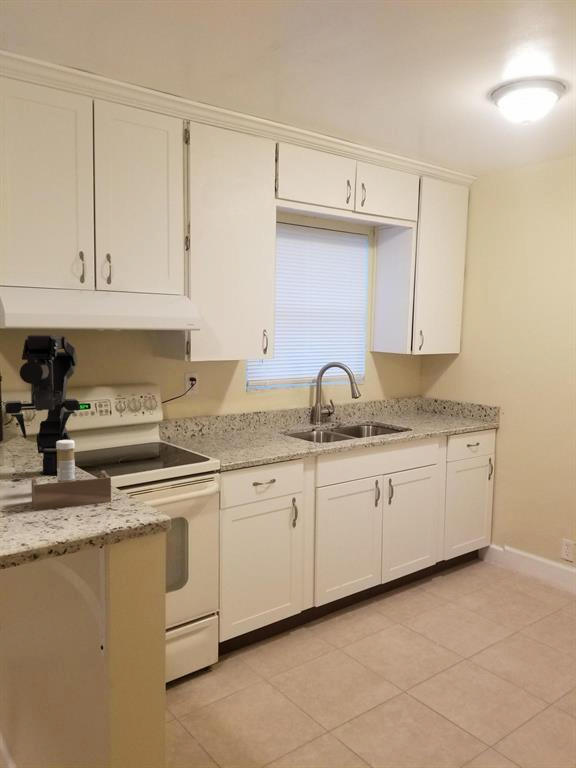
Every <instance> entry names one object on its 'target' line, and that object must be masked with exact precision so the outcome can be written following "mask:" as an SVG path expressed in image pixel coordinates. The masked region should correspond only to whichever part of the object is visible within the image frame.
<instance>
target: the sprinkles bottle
mask: <svg viewBox="0 0 576 768" xmlns="http://www.w3.org/2000/svg"><path fill="white" fill-rule="evenodd" d="M75 446H76V445H75V440H73V439H71V440H60V441H57V442H56V449H57V475H56V476H57V478H56V479H57V482H67V481H76V480H75V478H76V468H75V467H76V466H75V465H76V463H75V461H76V459H75Z"/></svg>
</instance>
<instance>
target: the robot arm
mask: <svg viewBox="0 0 576 768" xmlns="http://www.w3.org/2000/svg"><path fill="white" fill-rule="evenodd" d="M58 350H63V351H58ZM21 360H22V361H27V362H25V363H23V365H21V367H20V369H19V376H20V378H21V380H22V381H23V382H24V383H26V384H30V402H25V403H22V401H21V400H7V401H5V402H4V413H5V414H8V415H10V417H14V418H15V419H16V421H17V423H18V424H19V427H20V430H21V433H22V436H23V438H24V439H27V431H26V425H25V420H24V414H23V411H33V410H35V411H38V412H42V411H45V410H46V411H47V417H46V419H45V420H41V422H40V423H39V431H38V432H37V434H36V446H37V447H36V448H37V454H38V455H40V454H42V455H43V456H42V457H43V458H42V470H40V471H39V474H41V475H50V476H57V449H56V442H57V441H60V440H72V438H71V436H70V435H69V433H68V430H67V427H66V425H67V421H69V420H68V419H69V418H70V416H71V415H73V414H75V411H80V409H81V407H80V402H79V401H78V400H77V399H76V398H67V397H66V396H67V390H68V380H69V379H70V378H71V377H72V376H73V375H74V374H75V368H76V367H77V365H78V357H77V352H76V348H75V347H74V346H73V345H72V344H70V343H69V341H68V340H67V337H66V336H63V335H53V334H28V335H27V338H25V339H24V344H23V350H22V355H21Z"/></svg>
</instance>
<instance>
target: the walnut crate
mask: <svg viewBox="0 0 576 768" xmlns="http://www.w3.org/2000/svg"><path fill="white" fill-rule="evenodd" d="M100 473H101V474H100V478H99V477H98V478H89V479H79V480H75V481H67V482H58V481H57V482H49V483H38V482H37V479H36V477H31V478H30V479H31V480H30V482H31V483H30V484H31V486H30V487H31V502H32V506H33V509H34V511H42V510H43V511H44V510H49V509H50V510H51V509H60V508H68V507H76V506H85V505H91V504H92V505H93V504H100V503H101V504H102V503H108V502H112V480H111V479H112V478H111V476H110V475H109V474H108V473H107V472H106V471H105V470H101V471H100Z"/></svg>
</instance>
